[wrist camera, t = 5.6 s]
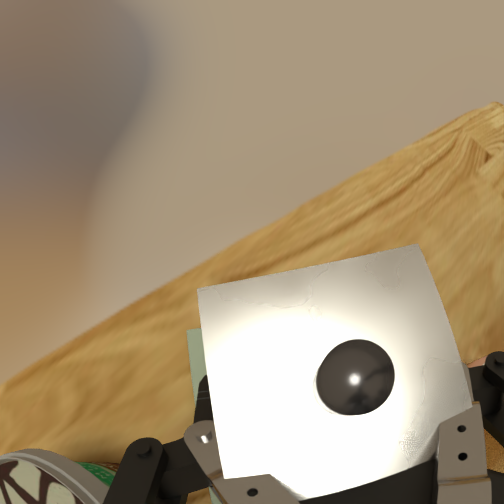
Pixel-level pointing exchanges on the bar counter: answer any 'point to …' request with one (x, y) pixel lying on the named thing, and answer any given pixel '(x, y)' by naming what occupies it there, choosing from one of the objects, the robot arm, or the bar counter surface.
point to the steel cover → (331, 371)
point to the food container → (52, 479)
